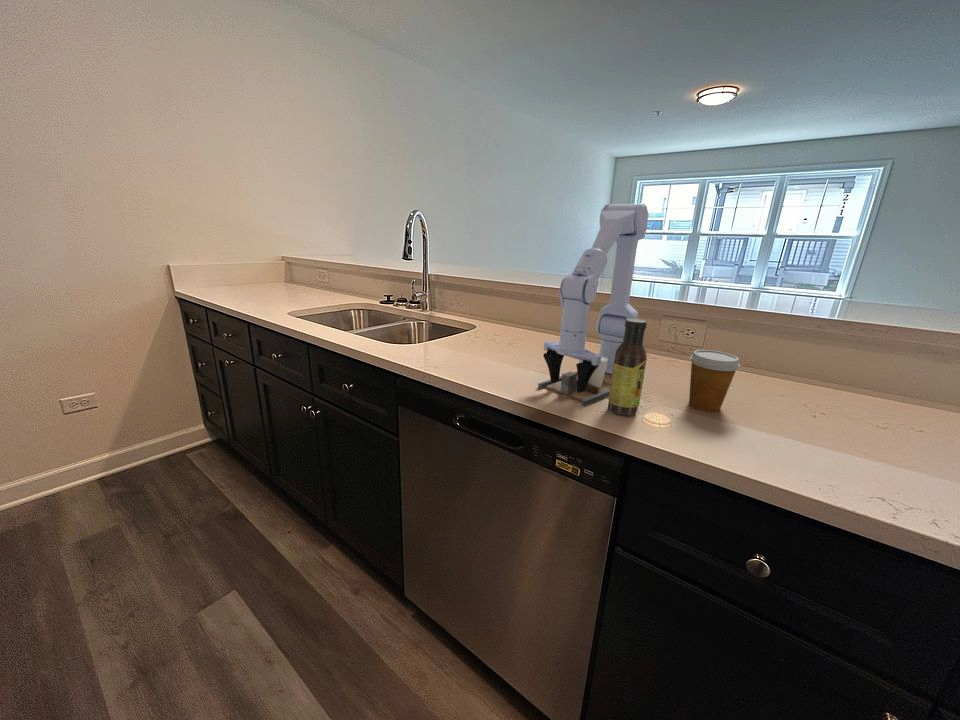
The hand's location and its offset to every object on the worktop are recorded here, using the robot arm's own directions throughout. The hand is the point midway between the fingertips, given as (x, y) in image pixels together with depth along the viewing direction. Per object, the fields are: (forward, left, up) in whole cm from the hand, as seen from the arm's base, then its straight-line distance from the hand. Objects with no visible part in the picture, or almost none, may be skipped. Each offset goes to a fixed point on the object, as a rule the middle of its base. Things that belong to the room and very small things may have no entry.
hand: (567, 386), depth 93 cm
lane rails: (-8, 0, -2) cm, 8 cm away
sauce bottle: (-2, +13, -2) cm, 13 cm away
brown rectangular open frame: (-6, 0, -2) cm, 7 cm away
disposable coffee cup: (-20, +23, -2) cm, 31 cm away
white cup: (-9, 0, -2) cm, 10 cm away
